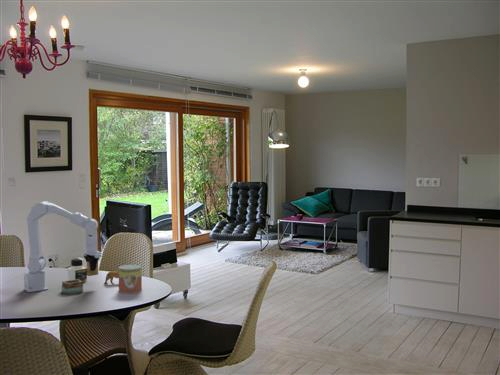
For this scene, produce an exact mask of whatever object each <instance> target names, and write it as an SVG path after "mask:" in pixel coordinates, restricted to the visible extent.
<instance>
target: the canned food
mask: <svg viewBox="0 0 500 375" xmlns="http://www.w3.org/2000/svg"><path fill="white" fill-rule="evenodd" d="M142 268H143V267H142V265H140V264H124V265H119V266H118V271H119V278H118V292H119V293H120V294H130V295H131V294H137V293H141V292H142V291H143V288H142V287H143V286H142V285H143V284H142V283H143V282H142V276H143V273H142V272H143V271H142Z"/></svg>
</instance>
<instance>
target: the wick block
mask: <svg viewBox="0 0 500 375" xmlns="http://www.w3.org/2000/svg"><path fill="white" fill-rule="evenodd" d="M86 268H87V277H92V276H98V275H99V261H98V262H97V265H96V269H95V270H94V271H91V269H90V263H89V261H87V262H86Z"/></svg>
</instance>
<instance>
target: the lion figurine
mask: <svg viewBox="0 0 500 375" xmlns="http://www.w3.org/2000/svg"><path fill="white" fill-rule="evenodd" d="M114 278H115V279H119V270H118V271H117V270H116V271H113V270H111V271H109V272H107V274H106V276H105V281H104V283H103V285H108V284H109V283H110V284H111V285H112V286H113V285H114V286H115V282H113V280H114ZM109 280H110V281H109ZM108 281H109V282H108Z"/></svg>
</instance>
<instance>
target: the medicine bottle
mask: <svg viewBox="0 0 500 375" xmlns="http://www.w3.org/2000/svg"><path fill="white" fill-rule="evenodd" d="M83 259H84V258H79V257H78V258H72V259H71V260H70V266H71V267H68V268H67V281H70V280H76V279H79V280H81V281H83V283H84V282H87V280H88V276H87V267H84V260H83Z"/></svg>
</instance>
